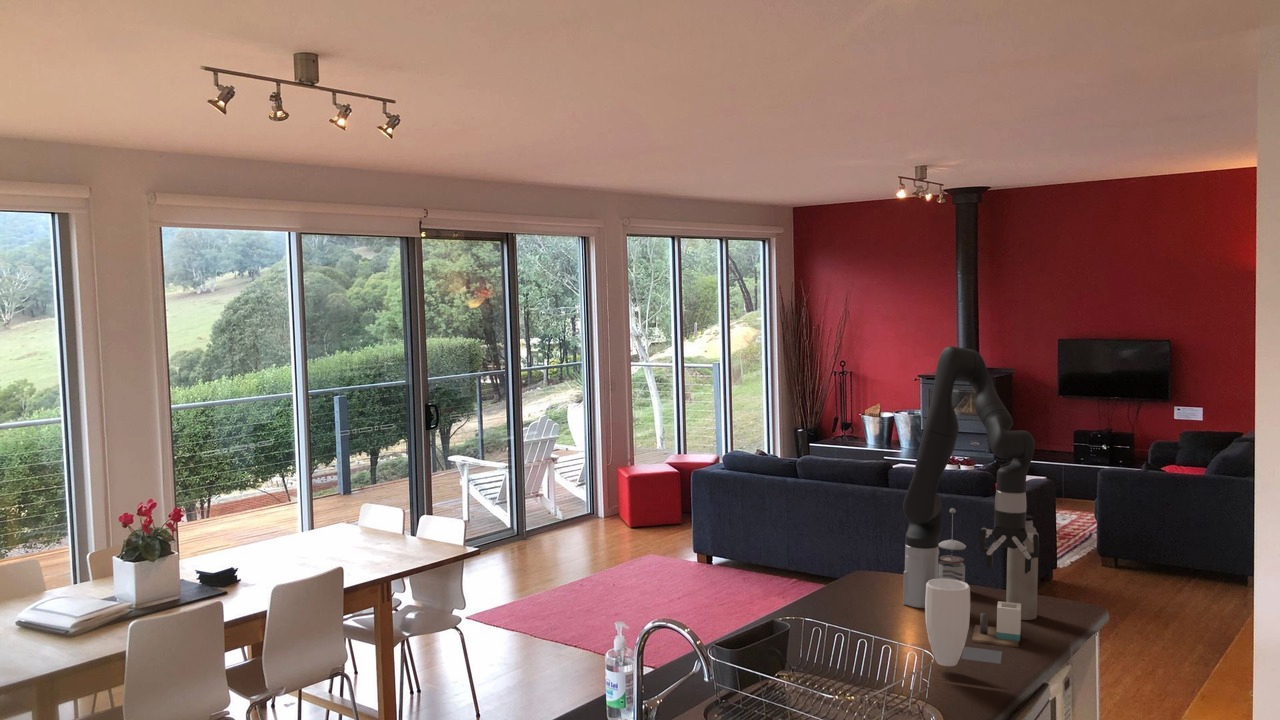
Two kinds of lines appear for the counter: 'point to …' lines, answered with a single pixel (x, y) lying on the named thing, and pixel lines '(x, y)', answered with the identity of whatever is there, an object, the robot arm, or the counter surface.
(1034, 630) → the counter surface
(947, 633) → the cup
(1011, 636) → the sleeve
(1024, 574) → the thermos bottle
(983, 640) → the pin board
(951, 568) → the french press
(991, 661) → the pad
